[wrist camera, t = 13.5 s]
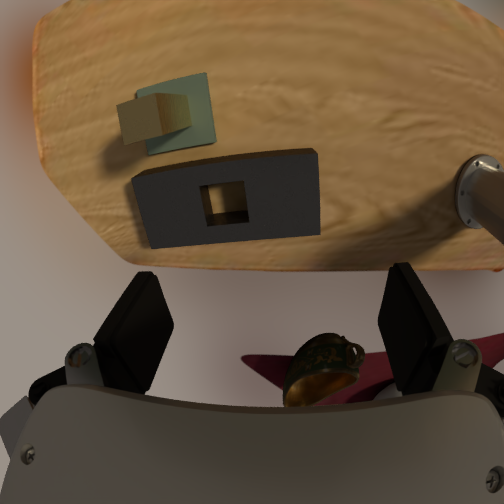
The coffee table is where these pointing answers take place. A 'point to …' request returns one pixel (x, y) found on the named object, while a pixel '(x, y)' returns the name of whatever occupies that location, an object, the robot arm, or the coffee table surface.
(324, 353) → the cup
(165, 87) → the green mat
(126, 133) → the brass plug
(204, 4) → the coffee table surface
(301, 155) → the dark square-hole plate
